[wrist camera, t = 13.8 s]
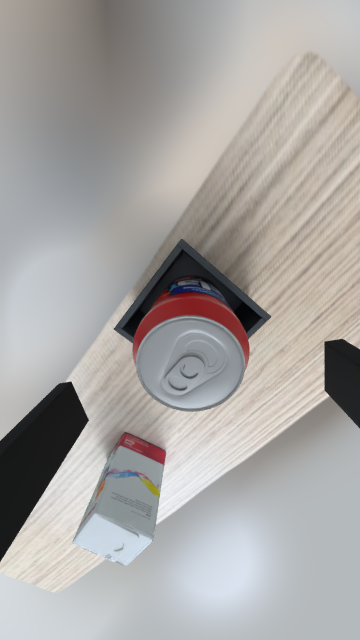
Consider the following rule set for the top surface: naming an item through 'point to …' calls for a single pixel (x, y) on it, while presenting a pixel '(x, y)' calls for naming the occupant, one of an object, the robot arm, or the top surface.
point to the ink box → (124, 502)
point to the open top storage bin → (191, 263)
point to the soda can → (191, 346)
